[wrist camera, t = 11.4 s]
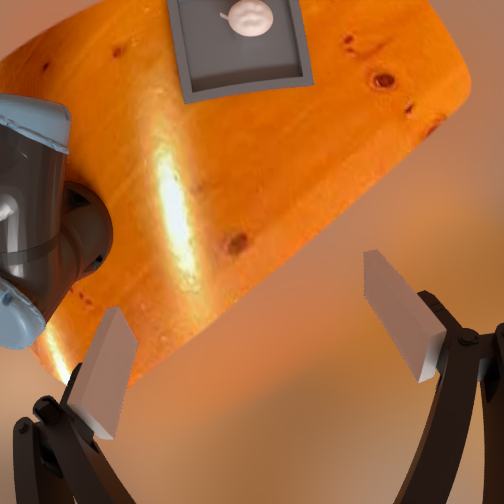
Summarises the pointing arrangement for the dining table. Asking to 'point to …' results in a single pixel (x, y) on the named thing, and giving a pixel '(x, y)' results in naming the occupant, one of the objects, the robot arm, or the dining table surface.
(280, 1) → the slate tray
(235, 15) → the milkshake
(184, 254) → the dining table surface
